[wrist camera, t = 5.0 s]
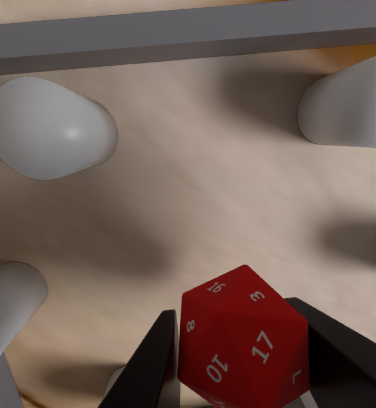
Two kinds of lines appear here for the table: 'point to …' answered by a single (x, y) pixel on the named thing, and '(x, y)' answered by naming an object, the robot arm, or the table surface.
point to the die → (242, 343)
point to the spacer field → (154, 52)
